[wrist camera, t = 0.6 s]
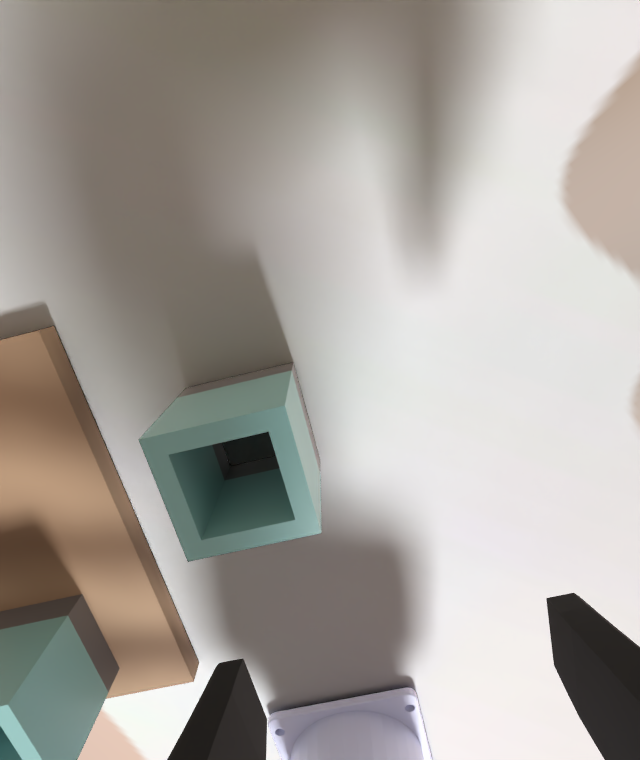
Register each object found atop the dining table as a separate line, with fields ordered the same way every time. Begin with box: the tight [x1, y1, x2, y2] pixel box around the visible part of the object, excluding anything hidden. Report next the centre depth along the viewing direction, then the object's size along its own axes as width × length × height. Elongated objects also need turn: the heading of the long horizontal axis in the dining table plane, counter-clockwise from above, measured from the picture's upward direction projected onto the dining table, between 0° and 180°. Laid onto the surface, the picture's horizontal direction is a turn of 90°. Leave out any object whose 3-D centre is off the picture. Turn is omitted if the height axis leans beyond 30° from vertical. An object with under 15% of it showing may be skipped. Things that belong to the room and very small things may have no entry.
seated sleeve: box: [0, 594, 120, 760], centre depth 18 cm, size 5×5×5 cm
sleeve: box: [139, 363, 322, 562], centre depth 16 cm, size 5×5×5 cm
